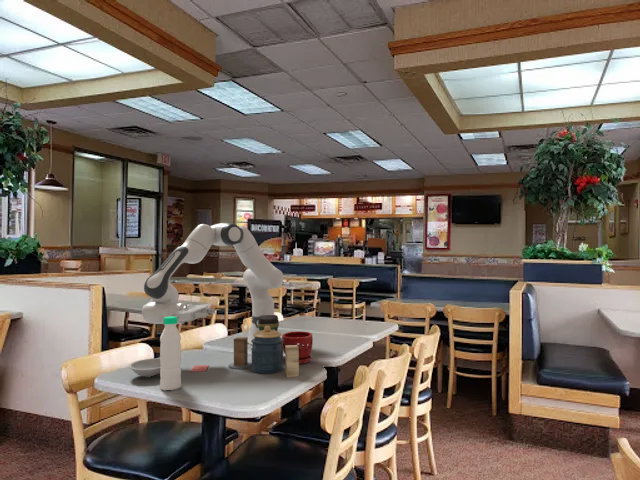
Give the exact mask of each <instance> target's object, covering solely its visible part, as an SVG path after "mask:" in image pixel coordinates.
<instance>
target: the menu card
mask: <svg viewBox="0 0 640 480" xmlns="http://www.w3.org/2000/svg"><path fill="white" fill-rule="evenodd" d="M208 367H210V365H209V364H207V365H206V364H202V365H197V364H195V365H193V367H192V368H191V369H190V370H189V372H191V373H193V372H194V373H198V372H200V373H201V372H207V370H208Z"/></svg>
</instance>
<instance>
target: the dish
mask: <svg viewBox="0 0 640 480" xmlns="http://www.w3.org/2000/svg"><path fill="white" fill-rule="evenodd" d="M128 368H129V369H131V371H132V372H133V373H135V374H136V375H137V376H140V377H146V378H152V377H154V376H155V375H159V374H160V370H161V365H160V358H146V359H145V358H144V359H140V360H136V361H133V362H131V363H130V364H129V365H128ZM151 376H152V377H151Z"/></svg>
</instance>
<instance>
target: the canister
mask: <svg viewBox="0 0 640 480" xmlns="http://www.w3.org/2000/svg"><path fill="white" fill-rule="evenodd" d="M253 336H254V339H252V340H251V342H252V344H253V345H252V344H251V346H252V347H251V349H250V350H251V367H250V369H251V371H252V372H254V373H257V374H274V373H278V372H281V371H283V369H284V366H285V365H284V364H285V363H284V350H283V345H282V342H283V339H282V338H281V337H280V336H282V333H281V332H279V330H278V331H276V330H271V328H270V327H269V326H265V327H264V330H260V331H257V332H256V333H255V334H253Z"/></svg>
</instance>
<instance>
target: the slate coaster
mask: <svg viewBox="0 0 640 480" xmlns="http://www.w3.org/2000/svg"><path fill="white" fill-rule="evenodd" d="M251 363H252V361H251V362H250V361H248V364H246V365H245V366H234V362H232V363H228V368H229V369H233V370H246V369H251Z"/></svg>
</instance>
